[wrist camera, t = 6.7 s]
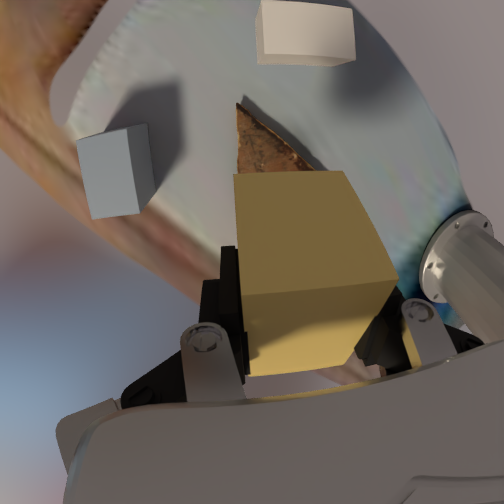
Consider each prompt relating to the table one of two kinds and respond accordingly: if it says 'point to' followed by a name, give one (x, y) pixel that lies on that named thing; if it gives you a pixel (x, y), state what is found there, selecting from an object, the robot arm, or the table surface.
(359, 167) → the table surface
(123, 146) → the slate brick
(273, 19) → the cream brick
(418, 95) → the table surface
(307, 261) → the mustard brick
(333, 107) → the table surface
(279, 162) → the shard
